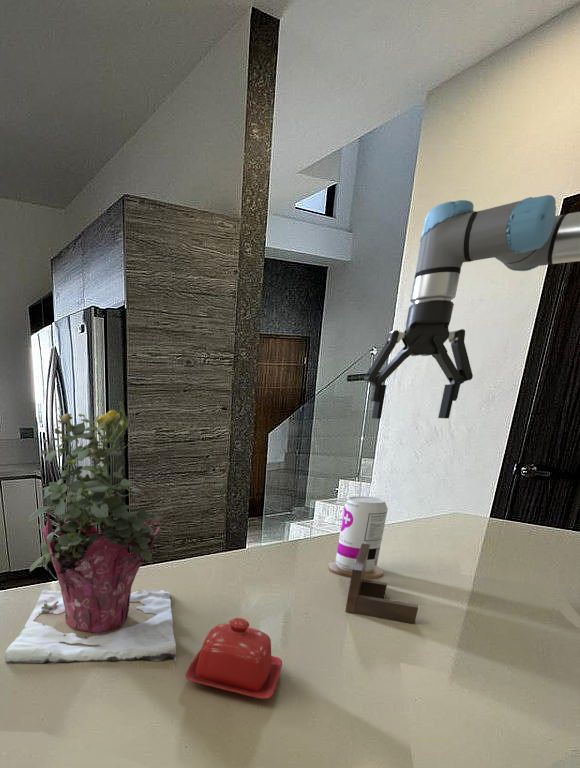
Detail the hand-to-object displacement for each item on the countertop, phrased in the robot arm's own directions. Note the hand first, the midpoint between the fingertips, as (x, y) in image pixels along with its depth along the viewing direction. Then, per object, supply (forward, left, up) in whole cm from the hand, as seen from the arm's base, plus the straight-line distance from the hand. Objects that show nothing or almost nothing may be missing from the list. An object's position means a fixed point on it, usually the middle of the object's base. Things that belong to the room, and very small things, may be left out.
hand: (409, 418), depth 100 cm
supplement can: (+5, +10, -31) cm, 33 cm away
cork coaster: (+5, +10, -31) cm, 33 cm away
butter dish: (+15, +65, -32) cm, 74 cm away
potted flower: (+40, +60, -32) cm, 79 cm away
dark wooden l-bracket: (-1, +26, -31) cm, 41 cm away
